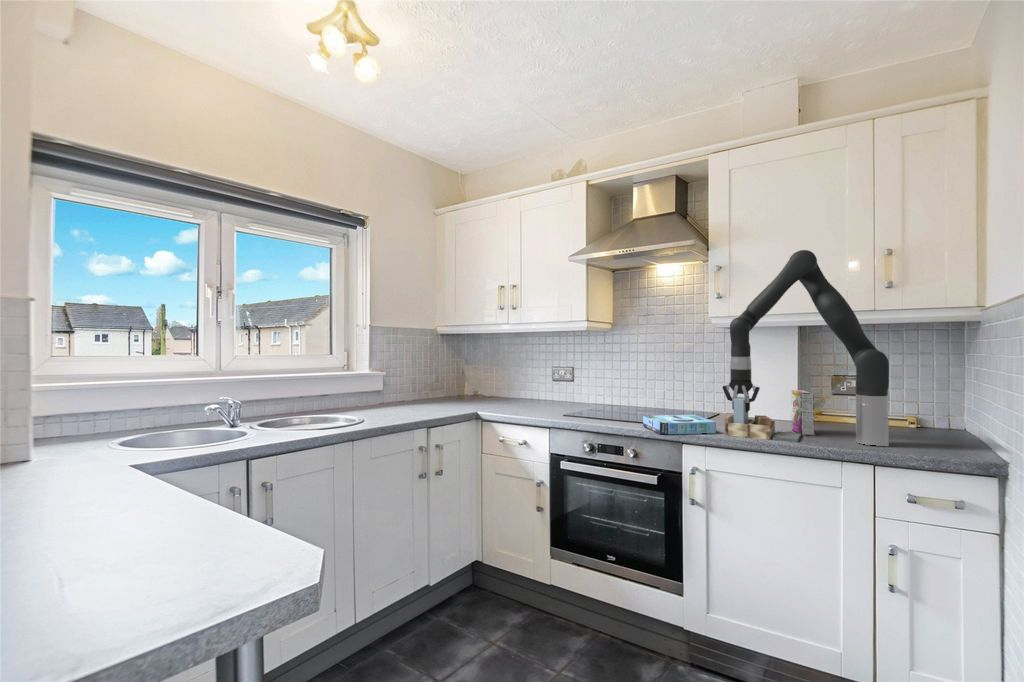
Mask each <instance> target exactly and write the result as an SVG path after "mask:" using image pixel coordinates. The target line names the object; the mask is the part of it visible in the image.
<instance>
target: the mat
mask: <svg viewBox="0 0 1024 682" xmlns="http://www.w3.org/2000/svg"><path fill="white" fill-rule="evenodd" d="M801 437H802V435H801V433H797V432H789V431H788V432H787V431H777V432H775V434H774V435H773V436H772V440H773V441H780V442H781V441H782V442H793V443H798V442H799V440H800V439H801Z"/></svg>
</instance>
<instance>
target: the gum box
mask: <svg viewBox="0 0 1024 682" xmlns="http://www.w3.org/2000/svg"><path fill="white" fill-rule="evenodd" d="M716 424H717V422H716V421H715V420H711V419H708V418H705V417H702V416H700V415H697V414H668V415H666V414H665V415H664V414H663V415H660V414H659V415H643V417H642V427H643V426H645V427H644V428H646V427H647V428H646V429H648V428H649V430H650V431H652V432H655V433H657V434H658V435H695V434H697V435H698V434H700V435H702V433H707V434H716V433H717V432H716V431H717V427H716V426H717V425H716Z"/></svg>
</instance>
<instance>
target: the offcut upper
mask: <svg viewBox="0 0 1024 682" xmlns="http://www.w3.org/2000/svg"><path fill="white" fill-rule="evenodd" d="M754 419H755V425H765V426H770V428H771V421H772V419H771V417H769V416H767V415H754Z"/></svg>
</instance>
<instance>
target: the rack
mask: <svg viewBox="0 0 1024 682" xmlns="http://www.w3.org/2000/svg"><path fill="white" fill-rule="evenodd" d="M775 423H776V421H775V420H771V428H770V426H765V425H755V418H754V419H753V418H749V424H740V423H734V412H731V413H730V414H728V415H727V416H725V417H724V436H725V435H728V436H727V437H734V436H740V437H739V438H745V437H749V438H748V439H756V438H758V439H759V440H768V441H770V440H771V439H772V438H773V436H774V435H775V434H776V432H775V431H776V427H775V426H776V425H775ZM758 439H757V440H758Z"/></svg>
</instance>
